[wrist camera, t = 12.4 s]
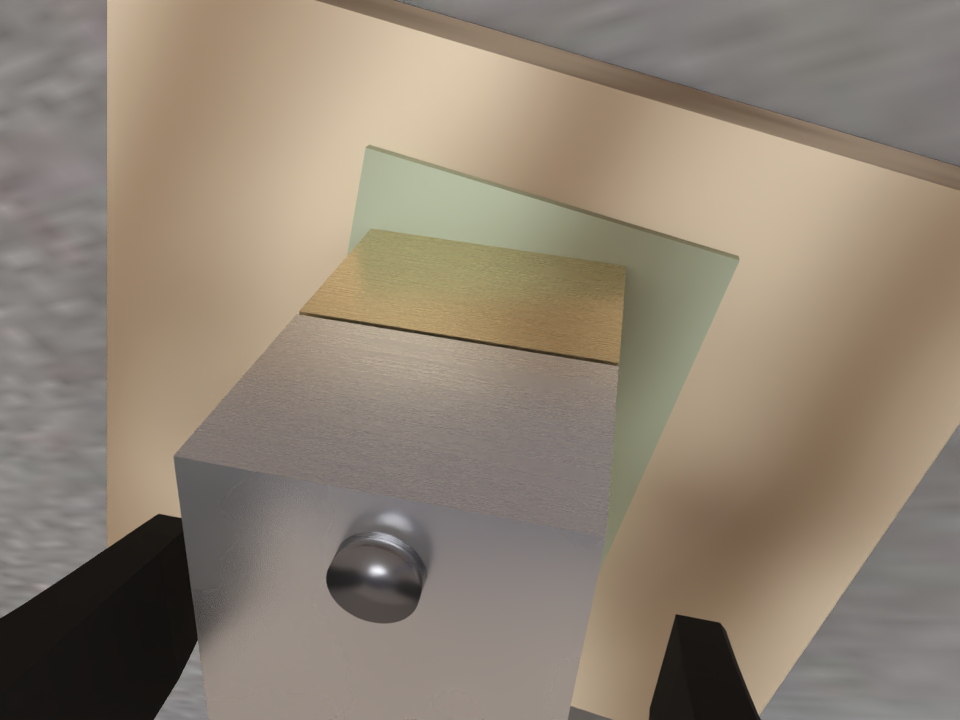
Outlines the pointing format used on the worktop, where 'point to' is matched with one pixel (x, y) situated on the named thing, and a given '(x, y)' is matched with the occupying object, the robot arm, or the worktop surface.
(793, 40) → the worktop surface
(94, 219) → the worktop surface
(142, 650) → the robot arm
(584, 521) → the block
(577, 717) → the lumpy-topped squat cylinder
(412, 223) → the birch stand
